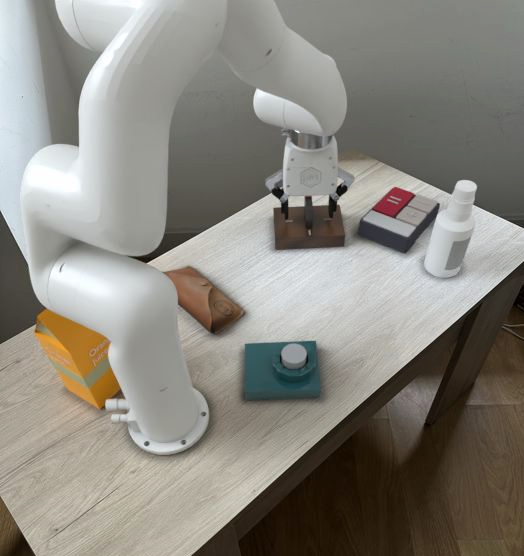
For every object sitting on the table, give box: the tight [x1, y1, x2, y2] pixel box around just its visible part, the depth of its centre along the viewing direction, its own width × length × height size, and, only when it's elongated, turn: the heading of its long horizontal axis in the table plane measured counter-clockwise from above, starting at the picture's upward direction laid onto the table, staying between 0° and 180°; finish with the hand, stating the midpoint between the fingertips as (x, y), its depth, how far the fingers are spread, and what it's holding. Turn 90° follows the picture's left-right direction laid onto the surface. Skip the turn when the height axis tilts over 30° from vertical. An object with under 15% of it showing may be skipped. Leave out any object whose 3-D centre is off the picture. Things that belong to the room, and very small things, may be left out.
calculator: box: [357, 186, 441, 254], centre depth 107 cm, size 11×4×15 cm
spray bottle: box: [423, 179, 478, 279], centre depth 93 cm, size 7×7×18 cm
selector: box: [272, 204, 346, 251], centre depth 107 cm, size 14×10×3 cm
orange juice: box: [33, 308, 122, 410], centre depth 79 cm, size 8×9×20 cm
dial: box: [303, 196, 314, 228], centre depth 104 cm, size 5×1×5 cm, turn 0°
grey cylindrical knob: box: [281, 344, 307, 370], centre depth 83 cm, size 4×4×2 cm
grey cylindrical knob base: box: [244, 340, 322, 401], centre depth 85 cm, size 12×10×4 cm
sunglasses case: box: [160, 265, 245, 335], centre depth 96 cm, size 18×7×7 cm
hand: (308, 214), depth 105 cm, fingers open, 8 cm apart
